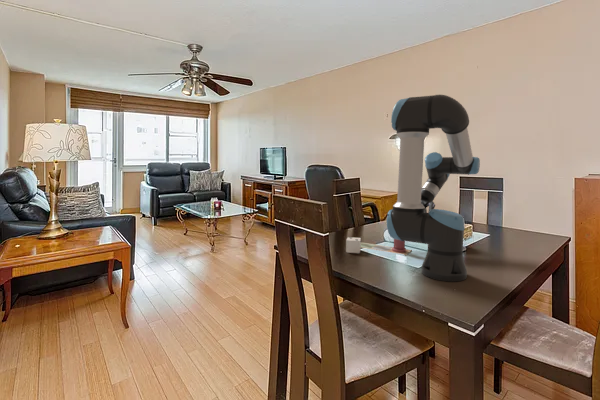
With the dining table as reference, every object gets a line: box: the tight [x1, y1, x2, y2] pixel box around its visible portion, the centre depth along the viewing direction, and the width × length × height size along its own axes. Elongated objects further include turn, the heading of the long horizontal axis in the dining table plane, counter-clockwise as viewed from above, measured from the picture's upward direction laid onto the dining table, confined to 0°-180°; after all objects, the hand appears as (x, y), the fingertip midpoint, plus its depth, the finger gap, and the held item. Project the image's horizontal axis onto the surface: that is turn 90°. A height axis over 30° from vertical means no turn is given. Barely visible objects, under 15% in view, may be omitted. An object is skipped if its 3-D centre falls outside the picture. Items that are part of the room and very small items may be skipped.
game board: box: [361, 241, 413, 257], centre depth 154 cm, size 9×25×1 cm, turn 55°
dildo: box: [392, 239, 407, 252], centre depth 149 cm, size 6×6×13 cm
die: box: [345, 236, 362, 254], centre depth 149 cm, size 6×6×6 cm
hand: (404, 228), depth 150 cm, fingers open, 13 cm apart
